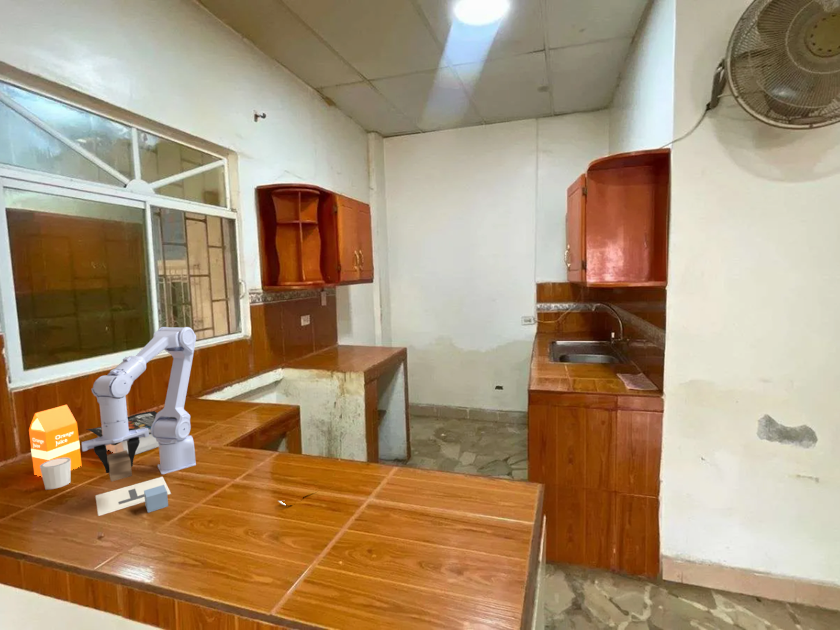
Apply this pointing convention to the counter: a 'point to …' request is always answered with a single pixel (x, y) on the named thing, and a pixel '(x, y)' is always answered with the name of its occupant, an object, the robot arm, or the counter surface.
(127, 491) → the letter mat
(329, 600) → the counter surface
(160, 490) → the blue cube
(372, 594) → the counter surface
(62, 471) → the white cup
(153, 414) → the food packaging
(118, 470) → the walnut bar
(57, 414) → the orange juice
